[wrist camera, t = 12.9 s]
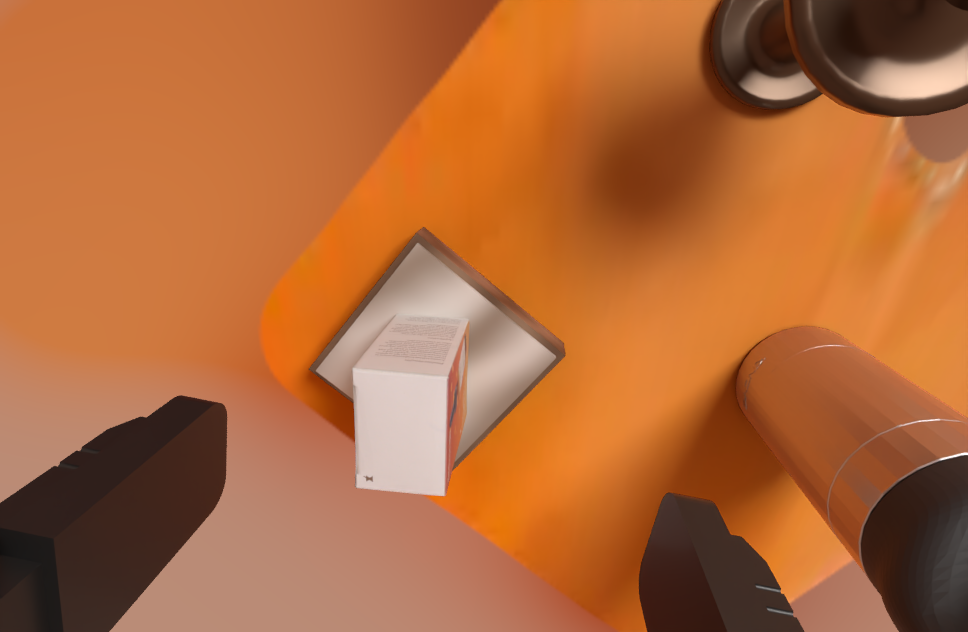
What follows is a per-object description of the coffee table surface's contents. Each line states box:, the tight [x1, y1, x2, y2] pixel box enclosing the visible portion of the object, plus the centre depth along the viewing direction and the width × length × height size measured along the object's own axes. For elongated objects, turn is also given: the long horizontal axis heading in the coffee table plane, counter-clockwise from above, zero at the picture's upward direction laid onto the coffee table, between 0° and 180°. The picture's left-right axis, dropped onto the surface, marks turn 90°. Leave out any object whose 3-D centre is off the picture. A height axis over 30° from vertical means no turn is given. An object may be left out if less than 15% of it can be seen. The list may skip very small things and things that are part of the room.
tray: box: [309, 227, 565, 471], centre depth 42 cm, size 14×14×3 cm
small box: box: [351, 314, 470, 496], centre depth 36 cm, size 8×6×10 cm
